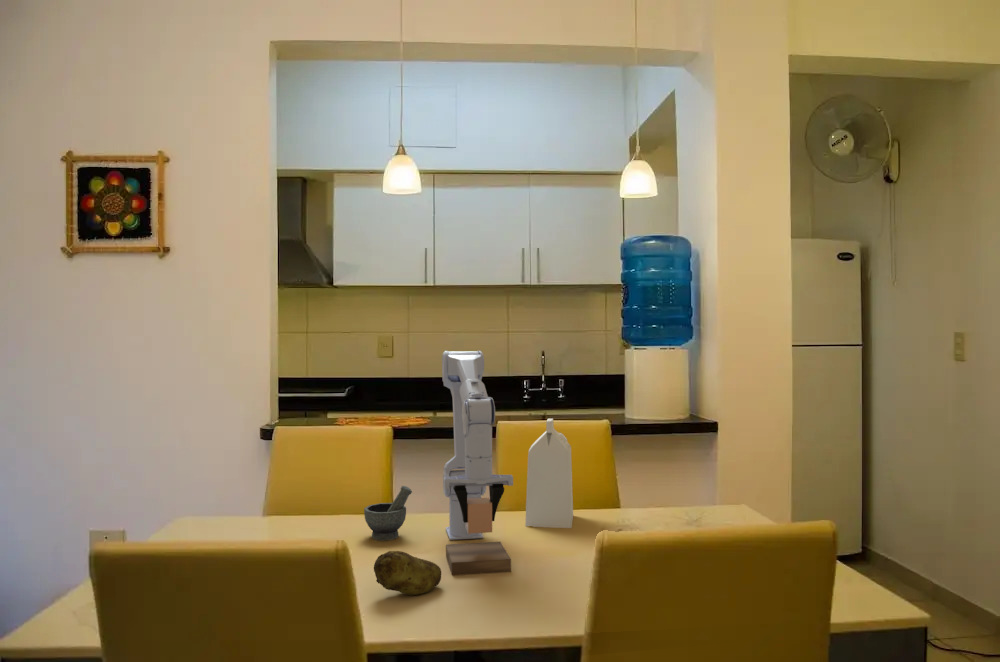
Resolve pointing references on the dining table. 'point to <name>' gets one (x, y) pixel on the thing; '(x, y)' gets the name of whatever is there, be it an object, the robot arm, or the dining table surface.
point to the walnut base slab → (477, 558)
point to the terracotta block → (479, 515)
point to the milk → (549, 481)
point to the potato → (406, 573)
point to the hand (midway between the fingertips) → (478, 520)
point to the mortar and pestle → (387, 516)
